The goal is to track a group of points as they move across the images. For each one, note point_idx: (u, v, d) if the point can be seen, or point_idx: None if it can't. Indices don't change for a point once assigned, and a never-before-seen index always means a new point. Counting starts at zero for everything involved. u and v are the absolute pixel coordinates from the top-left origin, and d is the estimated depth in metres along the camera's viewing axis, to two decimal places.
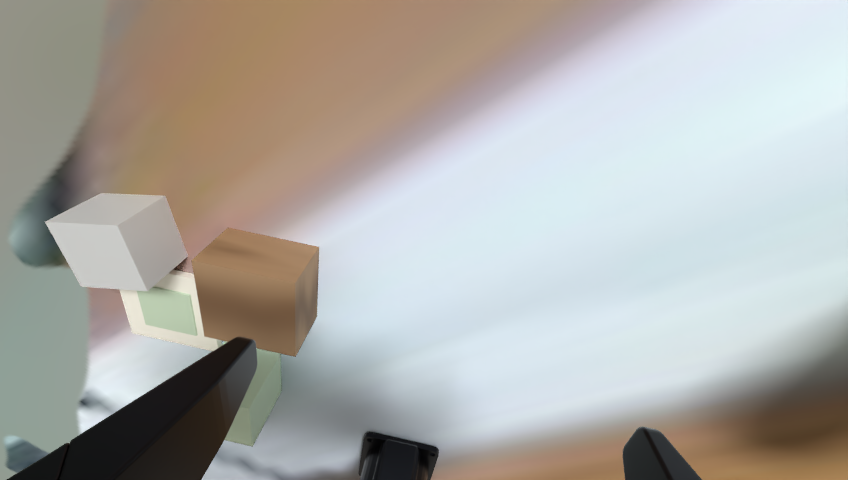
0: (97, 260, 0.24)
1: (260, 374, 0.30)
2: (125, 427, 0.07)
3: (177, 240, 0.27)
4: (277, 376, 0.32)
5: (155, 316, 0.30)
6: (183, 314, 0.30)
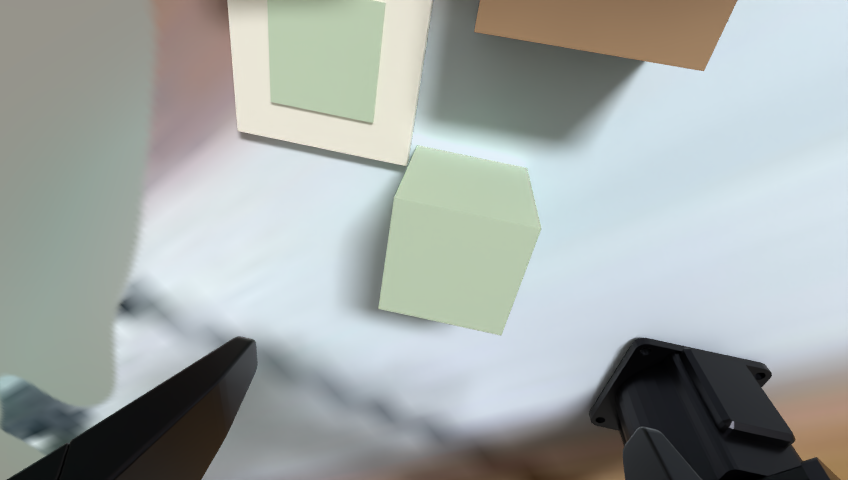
0: None
1: (516, 186, 0.15)
2: (125, 427, 0.07)
3: None
4: None
5: (295, 76, 0.15)
6: (358, 63, 0.14)
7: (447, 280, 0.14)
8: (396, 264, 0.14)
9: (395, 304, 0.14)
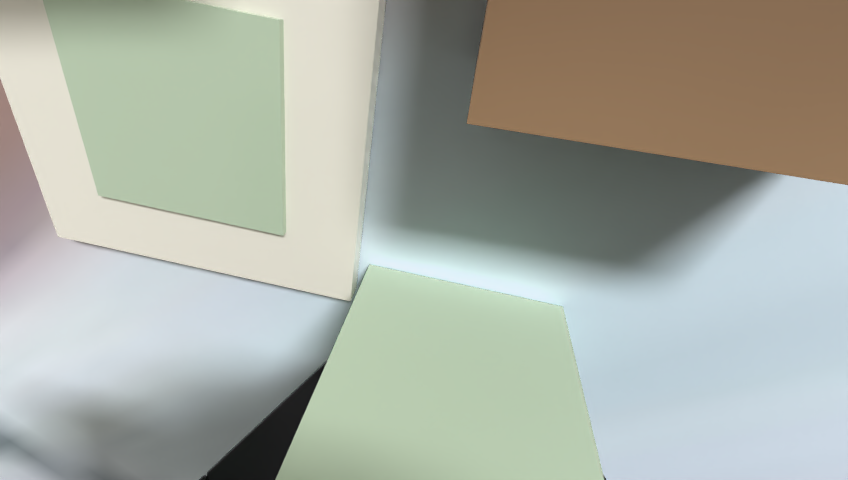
0: None
1: (551, 379, 0.07)
2: (255, 457, 0.07)
3: None
4: None
5: (132, 154, 0.08)
6: (243, 135, 0.07)
7: None
8: None
9: None
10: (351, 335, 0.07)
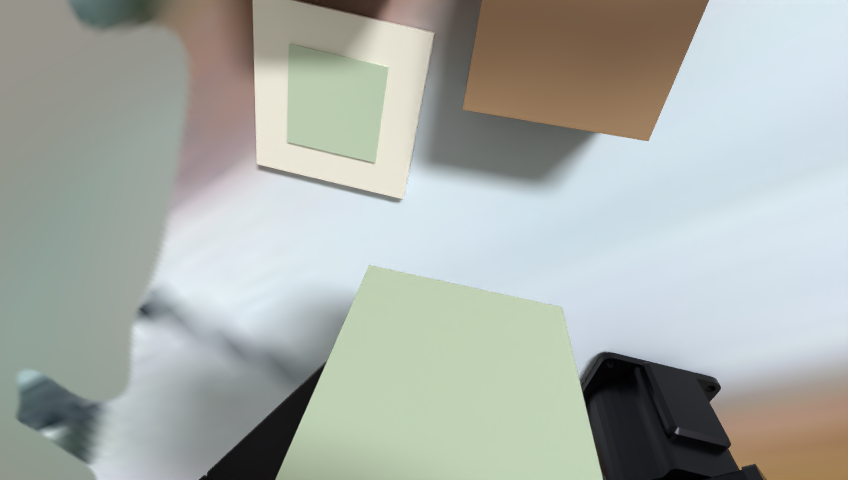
0: None
1: (550, 379, 0.07)
2: (255, 457, 0.07)
3: None
4: None
5: (309, 121, 0.17)
6: (364, 114, 0.17)
7: None
8: None
9: None
10: (351, 336, 0.08)
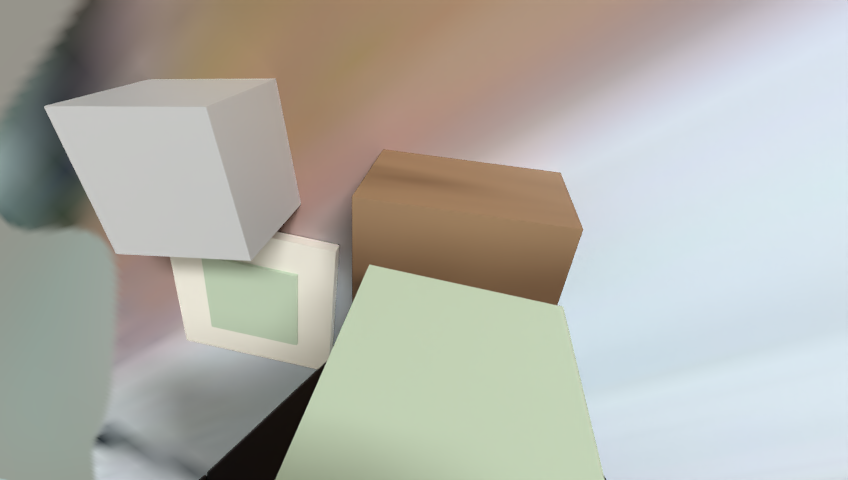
0: (154, 194, 0.11)
1: (551, 379, 0.07)
2: (255, 457, 0.07)
3: (289, 171, 0.14)
4: None
5: (230, 313, 0.18)
6: (280, 309, 0.18)
7: None
8: None
9: None
10: (351, 335, 0.07)
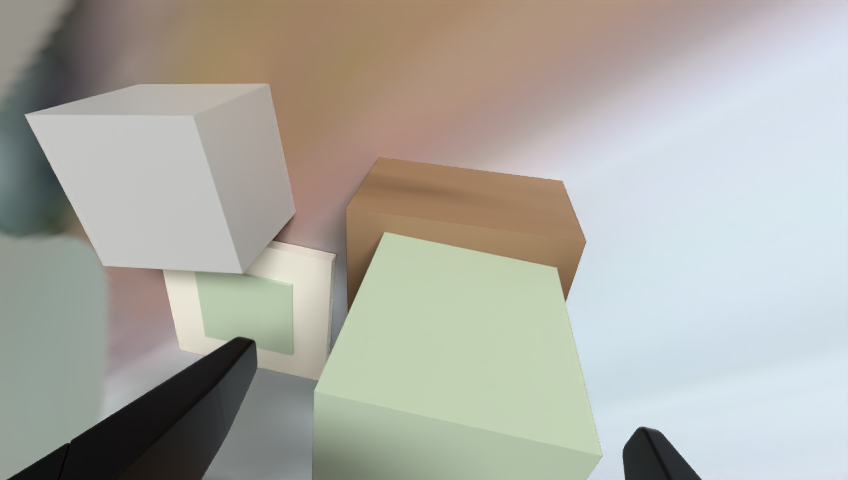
0: (141, 205, 0.11)
1: (544, 322, 0.09)
2: (125, 427, 0.07)
3: (283, 179, 0.14)
4: None
5: (224, 322, 0.18)
6: (275, 319, 0.17)
7: None
8: (333, 479, 0.08)
9: None
10: (371, 285, 0.09)
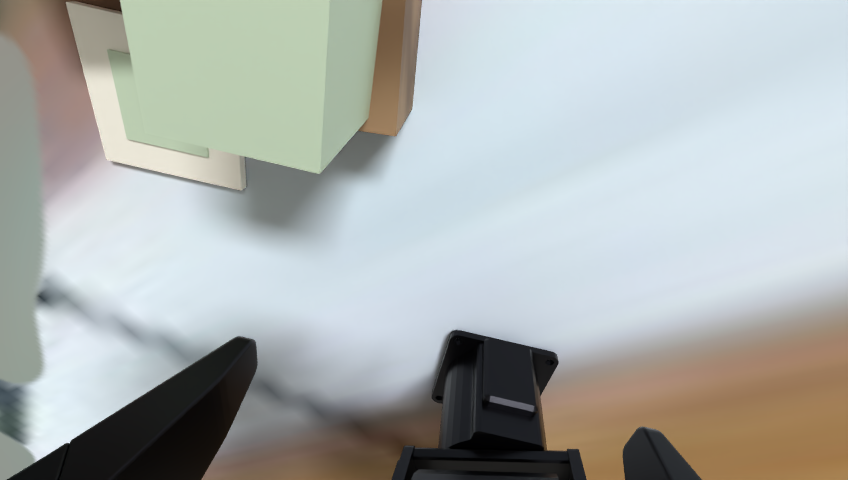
0: None
1: None
2: (125, 427, 0.07)
3: None
4: (373, 39, 0.12)
5: (142, 120, 0.19)
6: None
7: (224, 75, 0.09)
8: (145, 46, 0.09)
9: (165, 124, 0.10)
10: None
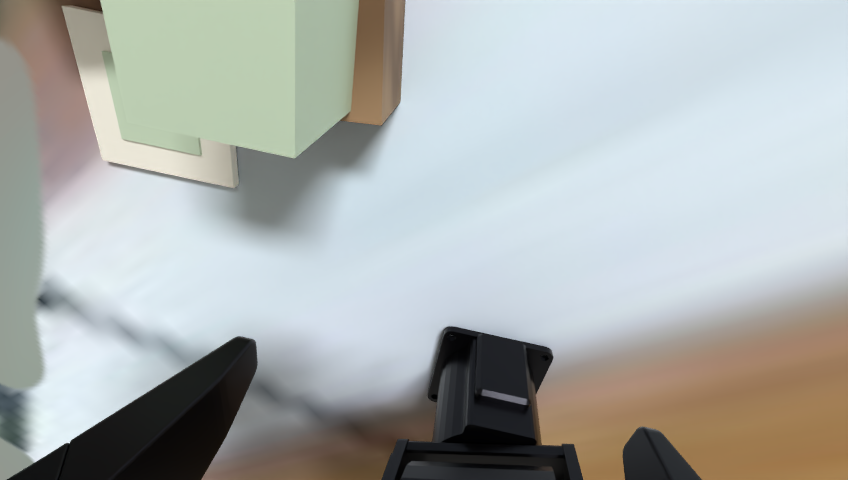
0: None
1: None
2: (125, 427, 0.07)
3: None
4: (350, 31, 0.13)
5: None
6: None
7: (199, 62, 0.10)
8: (124, 37, 0.10)
9: (145, 113, 0.10)
10: None
